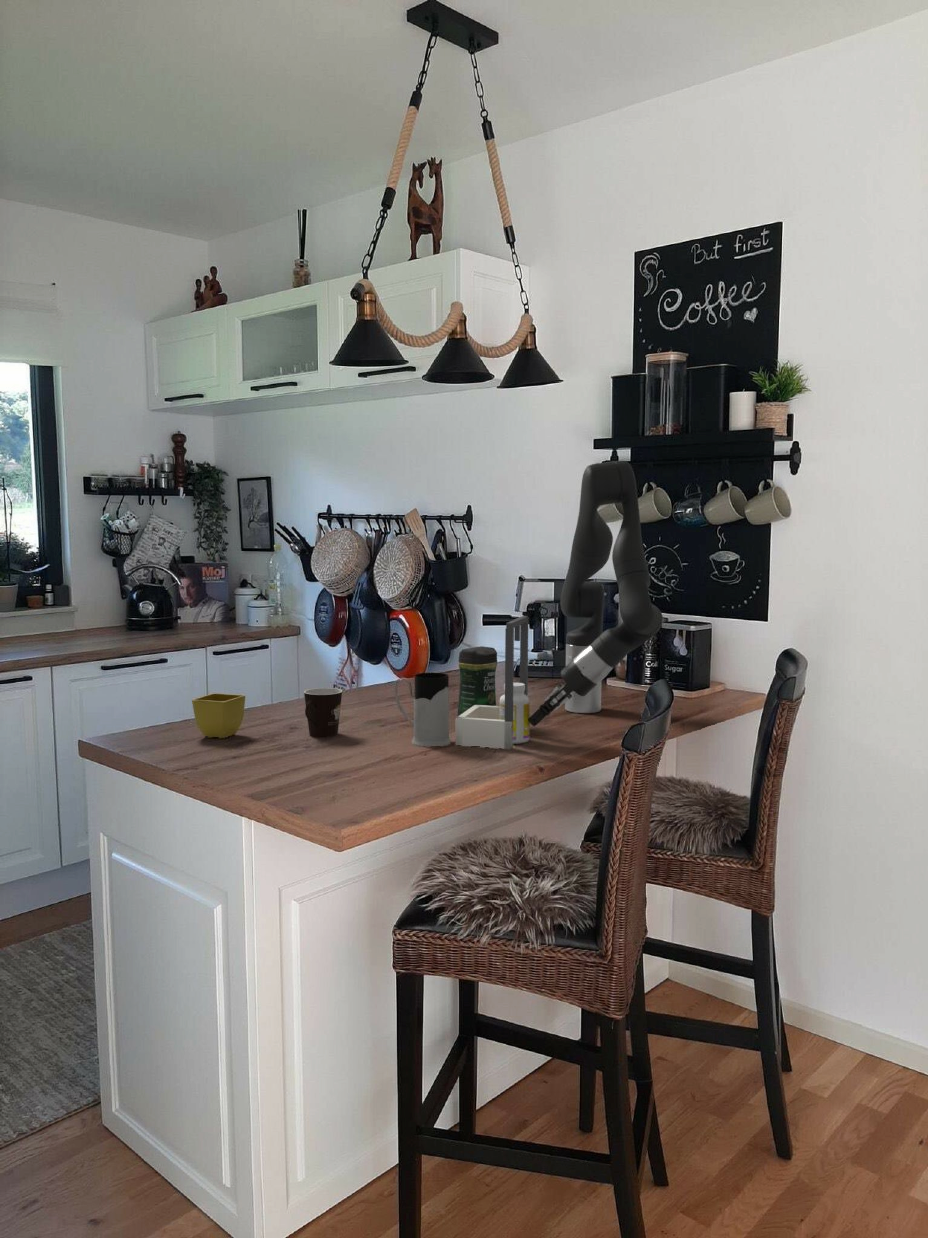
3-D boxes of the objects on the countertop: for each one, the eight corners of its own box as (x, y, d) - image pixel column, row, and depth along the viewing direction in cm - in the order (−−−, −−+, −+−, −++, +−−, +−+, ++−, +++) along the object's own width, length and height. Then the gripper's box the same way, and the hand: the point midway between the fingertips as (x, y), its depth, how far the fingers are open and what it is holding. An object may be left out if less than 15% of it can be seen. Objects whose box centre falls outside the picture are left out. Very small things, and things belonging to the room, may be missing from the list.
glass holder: (437, 748, 208) (437, 679, 206) (383, 740, 215) (383, 674, 214) (458, 741, 215) (459, 674, 214) (406, 733, 223) (406, 668, 221)
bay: (474, 730, 226) (475, 614, 224) (527, 733, 223) (528, 616, 220) (455, 745, 211) (455, 621, 208) (511, 749, 208) (512, 623, 205)
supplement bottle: (524, 737, 220) (524, 681, 218) (533, 743, 213) (534, 686, 212) (495, 738, 218) (496, 682, 216) (504, 745, 211) (504, 687, 210)
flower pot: (191, 738, 217) (190, 699, 216) (214, 730, 225) (213, 692, 224) (225, 742, 214) (224, 701, 213) (247, 733, 222) (246, 695, 221)
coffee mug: (327, 728, 227) (327, 686, 226) (350, 734, 221) (349, 691, 220) (285, 736, 219) (285, 692, 218) (308, 742, 213) (307, 698, 212)
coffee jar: (477, 728, 228) (478, 650, 226) (452, 723, 233) (452, 647, 231) (502, 722, 236) (503, 646, 234) (477, 717, 241) (477, 643, 239)
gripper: (579, 653, 216) (525, 705, 221) (570, 661, 204) (513, 716, 208) (603, 678, 215) (548, 729, 220) (595, 687, 203) (537, 741, 207)
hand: (531, 722), depth 214 cm, fingers closed
